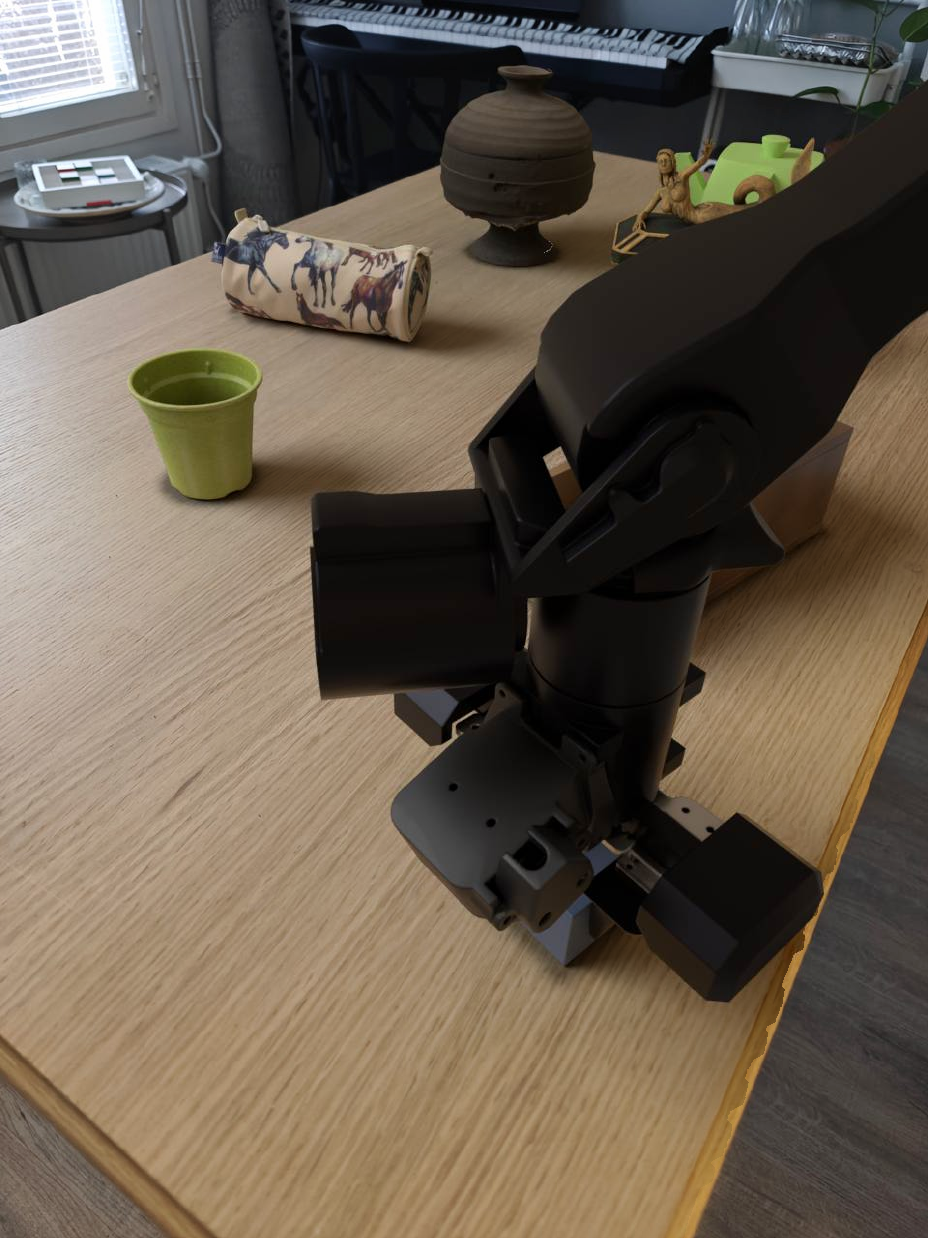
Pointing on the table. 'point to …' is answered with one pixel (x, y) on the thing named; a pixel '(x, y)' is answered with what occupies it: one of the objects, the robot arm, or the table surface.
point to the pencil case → (324, 280)
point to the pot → (517, 166)
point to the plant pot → (201, 416)
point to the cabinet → (795, 501)
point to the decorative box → (689, 203)
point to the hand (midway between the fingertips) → (565, 899)
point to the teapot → (745, 169)
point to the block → (574, 917)
